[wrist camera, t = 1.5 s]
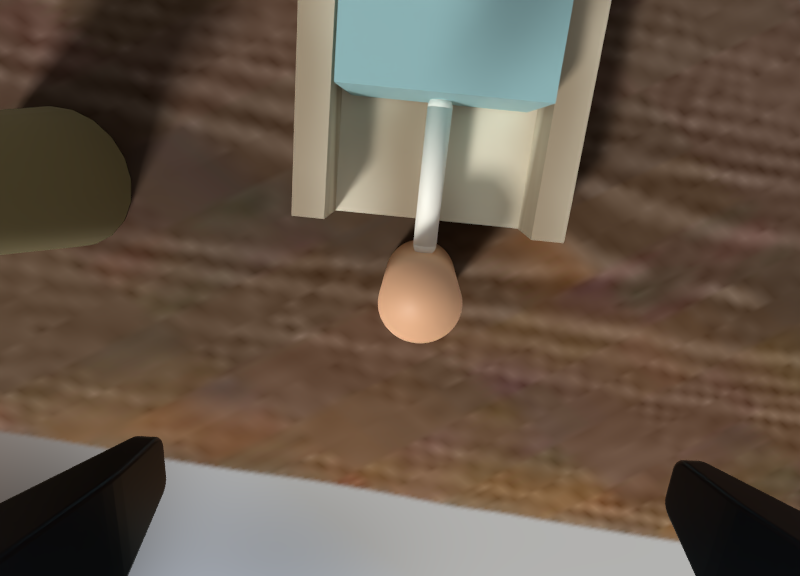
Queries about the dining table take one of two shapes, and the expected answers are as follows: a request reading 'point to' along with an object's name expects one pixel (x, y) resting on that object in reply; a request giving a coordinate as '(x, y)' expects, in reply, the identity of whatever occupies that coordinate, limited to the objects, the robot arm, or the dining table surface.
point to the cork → (58, 181)
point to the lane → (467, 149)
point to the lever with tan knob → (444, 111)
